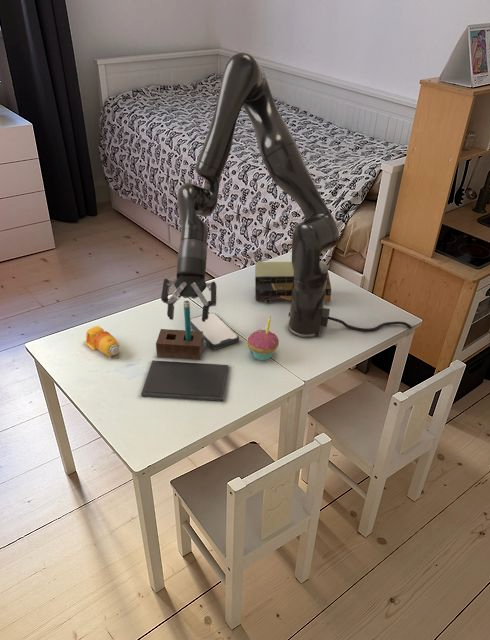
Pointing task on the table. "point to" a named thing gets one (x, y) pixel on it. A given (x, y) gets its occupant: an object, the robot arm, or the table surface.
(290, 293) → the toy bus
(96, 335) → the toy figure
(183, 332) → the pen stand
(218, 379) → the tablet
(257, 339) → the cupcake
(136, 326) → the table surface
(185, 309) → the stylus
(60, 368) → the table surface
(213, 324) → the smartphone
